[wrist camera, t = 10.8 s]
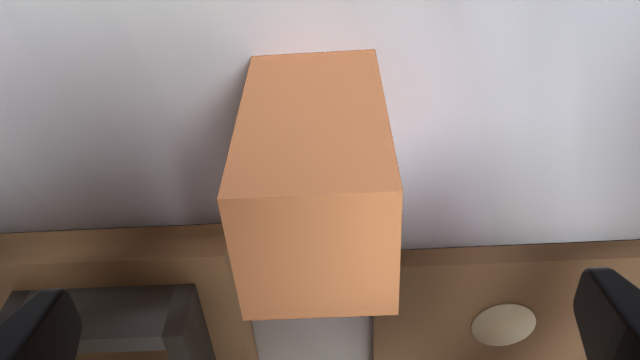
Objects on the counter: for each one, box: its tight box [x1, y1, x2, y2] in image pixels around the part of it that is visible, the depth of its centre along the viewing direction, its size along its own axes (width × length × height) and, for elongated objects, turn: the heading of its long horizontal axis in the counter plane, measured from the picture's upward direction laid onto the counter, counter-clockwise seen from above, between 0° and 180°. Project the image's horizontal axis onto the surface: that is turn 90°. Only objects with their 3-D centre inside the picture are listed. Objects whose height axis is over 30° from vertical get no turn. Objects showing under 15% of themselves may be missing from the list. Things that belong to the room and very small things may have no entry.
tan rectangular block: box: [217, 49, 403, 321], centre depth 13 cm, size 3×3×6 cm
